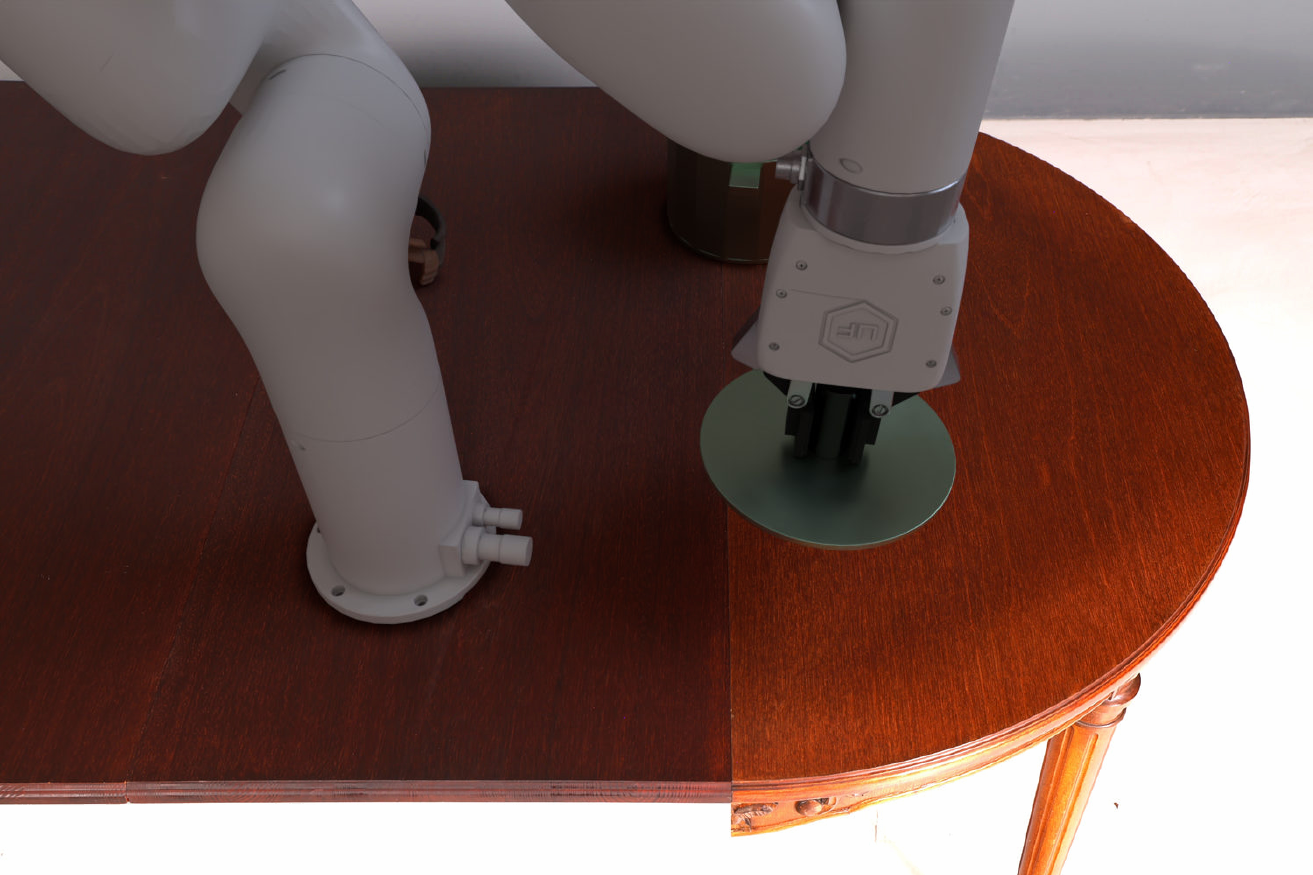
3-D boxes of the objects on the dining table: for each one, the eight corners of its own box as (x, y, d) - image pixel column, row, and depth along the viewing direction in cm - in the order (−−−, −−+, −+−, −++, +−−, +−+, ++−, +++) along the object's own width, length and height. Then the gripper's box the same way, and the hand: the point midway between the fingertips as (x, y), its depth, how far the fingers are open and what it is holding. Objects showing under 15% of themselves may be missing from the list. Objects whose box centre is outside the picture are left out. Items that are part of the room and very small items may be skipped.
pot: (826, 165, 104) (840, 65, 97) (820, 290, 91) (835, 186, 83) (681, 154, 106) (683, 55, 98) (654, 276, 92) (653, 172, 84)
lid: (945, 384, 69) (969, 307, 65) (959, 573, 59) (989, 497, 54) (712, 358, 71) (718, 280, 66) (684, 539, 60) (690, 462, 55)
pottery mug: (368, 230, 97) (400, 163, 92) (443, 297, 97) (478, 234, 92) (275, 272, 88) (304, 201, 83) (357, 347, 88) (392, 280, 83)
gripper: (707, 211, 49) (688, 473, 62) (1062, 247, 47) (965, 506, 61) (722, 128, 54) (702, 386, 67) (1043, 159, 53) (957, 415, 66)
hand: (827, 441), depth 64 cm, fingers closed on lid, 2 cm apart
